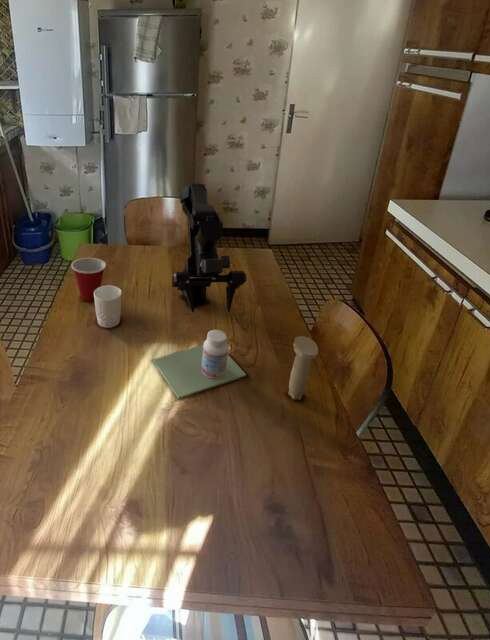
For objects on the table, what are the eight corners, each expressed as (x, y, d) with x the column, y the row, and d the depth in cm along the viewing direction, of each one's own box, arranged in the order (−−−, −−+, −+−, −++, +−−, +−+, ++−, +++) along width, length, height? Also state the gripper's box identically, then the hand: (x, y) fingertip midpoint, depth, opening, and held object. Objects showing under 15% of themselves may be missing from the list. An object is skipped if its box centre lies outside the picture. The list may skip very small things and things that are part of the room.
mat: (216, 342, 120) (216, 341, 120) (245, 376, 109) (246, 374, 108) (153, 361, 113) (153, 359, 113) (178, 399, 102) (178, 397, 101)
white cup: (118, 331, 124) (117, 301, 120) (91, 327, 126) (90, 298, 121) (124, 315, 131) (124, 286, 127) (99, 311, 133) (98, 283, 128)
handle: (301, 386, 106) (312, 336, 99) (309, 406, 100) (321, 355, 94) (281, 385, 106) (291, 335, 99) (288, 405, 100) (299, 354, 94)
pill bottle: (196, 370, 109) (199, 334, 104) (212, 359, 113) (215, 324, 108) (214, 383, 105) (218, 347, 100) (230, 372, 109) (235, 336, 104)
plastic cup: (113, 292, 143) (112, 259, 138) (96, 309, 134) (94, 275, 129) (85, 284, 147) (83, 252, 142) (66, 300, 138) (64, 267, 133)
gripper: (174, 244, 108) (178, 306, 103) (248, 243, 109) (256, 305, 104) (170, 257, 118) (173, 314, 113) (238, 256, 119) (244, 313, 114)
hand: (211, 311), depth 111 cm, fingers open, 9 cm apart
